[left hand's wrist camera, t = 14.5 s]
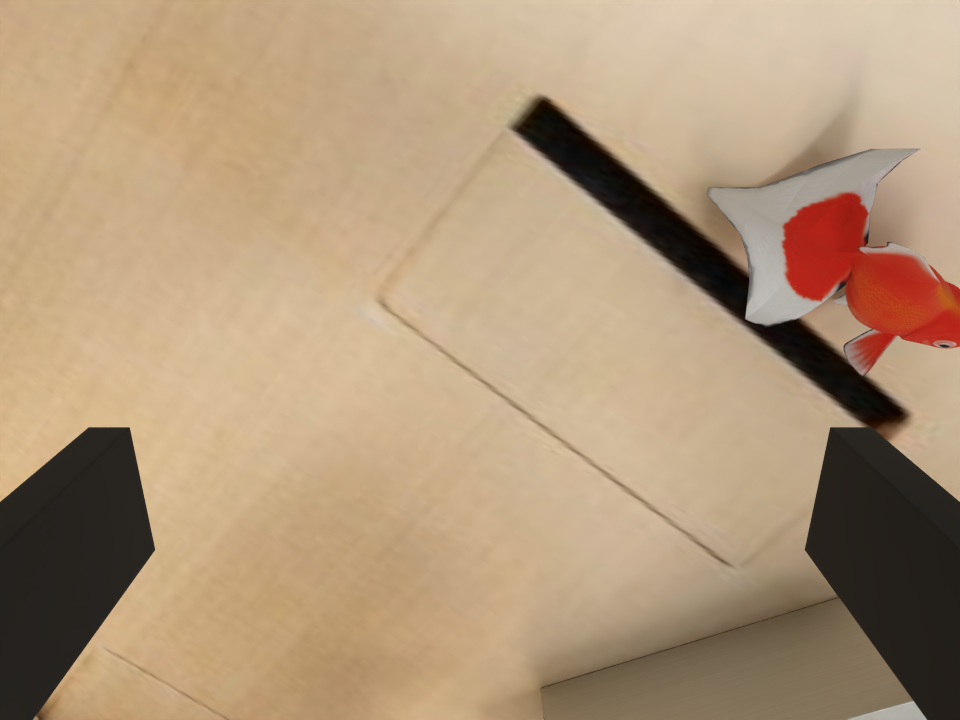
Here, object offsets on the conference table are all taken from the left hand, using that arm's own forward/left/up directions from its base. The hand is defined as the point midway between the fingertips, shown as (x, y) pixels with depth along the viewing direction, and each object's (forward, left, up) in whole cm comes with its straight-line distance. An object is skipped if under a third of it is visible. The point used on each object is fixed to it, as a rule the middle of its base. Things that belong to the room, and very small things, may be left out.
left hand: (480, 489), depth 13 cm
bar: (-8, +37, -29) cm, 48 cm away
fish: (-18, +6, -29) cm, 35 cm away
